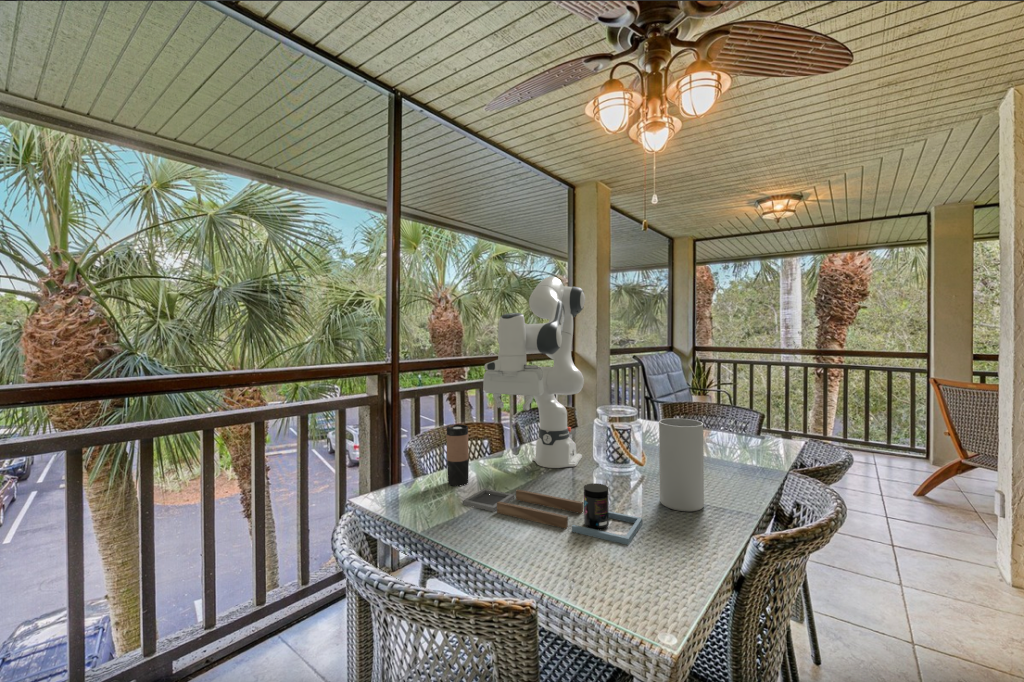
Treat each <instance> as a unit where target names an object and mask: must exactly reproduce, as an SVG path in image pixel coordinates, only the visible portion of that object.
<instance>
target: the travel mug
mask: <svg viewBox="0 0 1024 682" xmlns="http://www.w3.org/2000/svg"><path fill="white" fill-rule="evenodd" d="M469 451H470V450H469V426H468V425H466V424H454V425H453V426H446V465H447V467H446V468H447V483H448V485H449V484H450V485H449V486H451V485H453V486H452V487H461V486H460V485H463V486H465V485H464V484H466V485H468V484H469V470H470V469H469V464H470V461H469V458H470V456H469V455H470V453H469ZM467 483H468V484H467Z"/></svg>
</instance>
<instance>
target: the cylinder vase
mask: <svg viewBox="0 0 1024 682" xmlns="http://www.w3.org/2000/svg"><path fill="white" fill-rule="evenodd" d="M658 436H659V437H658V439H659V440H658V443H659V444H658V447H659V448H658V449H659V452H658V455H659V457H658V458H659V464H658V465H659V466H658V467H659V501H660V503H661V505H662V506H664V507H665V508H668V509H671V510H674V511H678V512H687V513H689V512H691V513H692V512H697V511H699V510H702V509H703V508H704V507H705V506H704V505H705V493H704V492H705V491H704V489H705V486H704V485H705V483H704V482H705V479H704V478H705V476H704V475H705V471H704V469H705V464H704V422H702V421H699V420H696V419H689V418H679V417H678V418H672V417H671V418H662V419H660V420H659V421H658Z"/></svg>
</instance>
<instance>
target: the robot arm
mask: <svg viewBox="0 0 1024 682" xmlns="http://www.w3.org/2000/svg"><path fill="white" fill-rule="evenodd" d="M528 305H529V308H530V311H531V312H532V313H533V314H534V315H535V316H536V317H538V318H539V319H542V320H543V319H544V320H548V322H543V323H526V320H525V316H524V313H521V312H510V313H509V312H508V313H503V314H502V315H501V316H500V317H499V321H498V326H497V328H498V330H497V343H498V347H499V349H498V355H497V356H498V357H497V359H495V360H493V361H490V362H487V363H485V364H484V374H483V380H482V381H483V382H482V385H483V386H482V387H483V391H484V392H485V394H493V399H494V401H496V408H497V409H503V408H504V407H505V406H504V403H505V402H504V401H502V400H501V396H502V395H511V396H525V399H526V402H525V403H523V404H522V410H523V411H529V410H530V408H531V407H530V406H531V405H530V404H531V403H532V401H533V399H534V401H535V403H536V405H537V409H538V416H539V418H538V419H539V428H538V439H537V440H536V442H535V443H536V444H535V456H534V457H532V461H534V462H535V463H536V465H538V466H540V467H542V468H543V467H544V468H549V469H559V468H560V469H561V468H568V467H577V466H578V463H579V462H581V461H580V460H581V459H582V457H583V455H582V453H579V452H577V444H576V442H574V440H573V439H572V438H571V437H570V433H571V431H572V427H571V426H568V411H567V409H566V407H565V406H564V404H562V403H560V402H559V401H558V400H557V398H556V396H555V395H563V396H571V395H575V394H579V393H581V391H582V389H583V387H584V385H585V377H584V376H583V373H582V371H580V369H578V368H577V367H576V365H575V364H574V361H573V357H572V345H573V344H572V343H573V337H574V336H573V335H574V318H575V317H577V316H578V315H579V314H580V313H582V310H584V306H585V305H586V295H585V291H584V290H583V289H582V288H581V287H577V286H568V285H564V283H563V282H562V281H561V279H559V278H558V277H555V276H547V277H545V278H543V279H542V280H541V281H540V282H539V283H538V284H537V285H536V286H535V288H534V289H533V290H532V292H531V294H530V296H529V299H528ZM527 354H544V355H546V356H547V357H548V358H550V359H551V360H553V366H539V365H531V364H530V365H529V364H527V363H528V362H527Z"/></svg>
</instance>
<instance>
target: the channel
mask: <svg viewBox="0 0 1024 682" xmlns="http://www.w3.org/2000/svg"><path fill="white" fill-rule="evenodd" d="M515 500H516V501H518V500H520V501H519V502H523V501H524V502H525V503H528V504H533V505H538V504H539V505H538V506H542V505H544V507H547V506H548V508H552V507H553V508H552V509H557V508H558V510H561V509H562V511H566V510H567V511H566V512H571V511H572V513H576V512H578V513H577V514H581V513H582V512H583V513H584V501H580V500H574V499H571V498H570V499H569V498H566V497H565V498H563V497H558V496H554V495H548V494H544V493H538V492H532V491H528V490H523V489H516V490H515ZM496 513H497V514H501V515H505V516H509V517H512V518H519V519H522V520H527V521H531V522H535V523H539V524H544V525H548V526H553V527H556V526H557V527H556V528H560V527H561V528H560V529H564V528H565V530H567V529H568V528H569V517H568V515H563V514H559V513H556V512H555V513H554V512H550V511H545V510H541V509H537V508H531V507H527V506H523V505H518V504H514V503H510V502H508V503H505V502H500V501H499V502H497V510H496ZM583 513H582V514H583ZM567 527H568V528H567ZM566 528H567V529H566Z"/></svg>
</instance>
